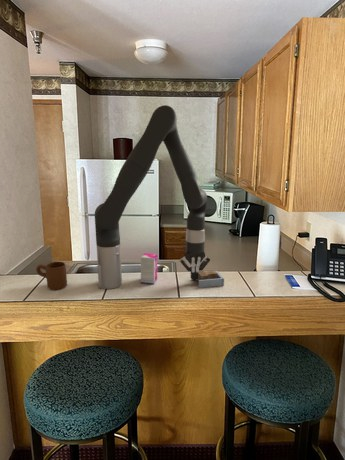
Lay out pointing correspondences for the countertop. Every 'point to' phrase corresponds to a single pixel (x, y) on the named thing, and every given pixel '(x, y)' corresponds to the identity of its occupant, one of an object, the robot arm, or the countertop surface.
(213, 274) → the tee
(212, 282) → the pocket fence
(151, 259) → the supplement box
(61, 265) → the mug
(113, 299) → the countertop surface
